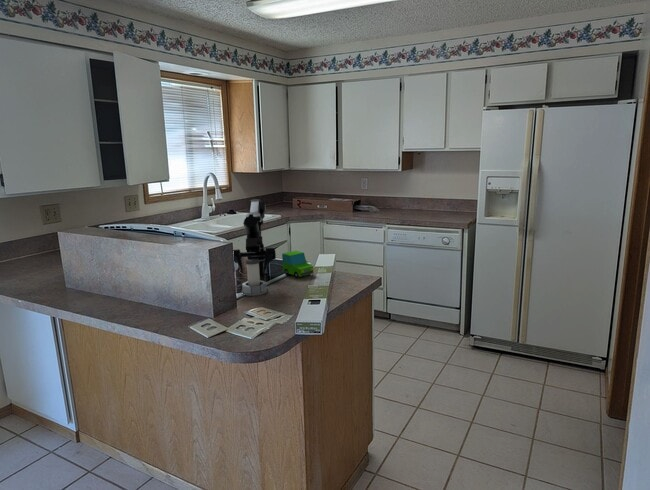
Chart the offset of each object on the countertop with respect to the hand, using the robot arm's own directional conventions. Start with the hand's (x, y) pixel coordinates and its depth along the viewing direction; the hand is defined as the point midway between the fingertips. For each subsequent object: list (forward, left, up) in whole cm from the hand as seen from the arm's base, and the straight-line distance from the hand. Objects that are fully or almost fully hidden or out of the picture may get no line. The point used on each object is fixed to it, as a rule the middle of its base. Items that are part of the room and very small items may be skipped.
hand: (253, 272), depth 185 cm
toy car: (-29, +4, -9) cm, 30 cm away
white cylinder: (0, 0, -8) cm, 8 cm away
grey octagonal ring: (0, 0, -8) cm, 8 cm away
